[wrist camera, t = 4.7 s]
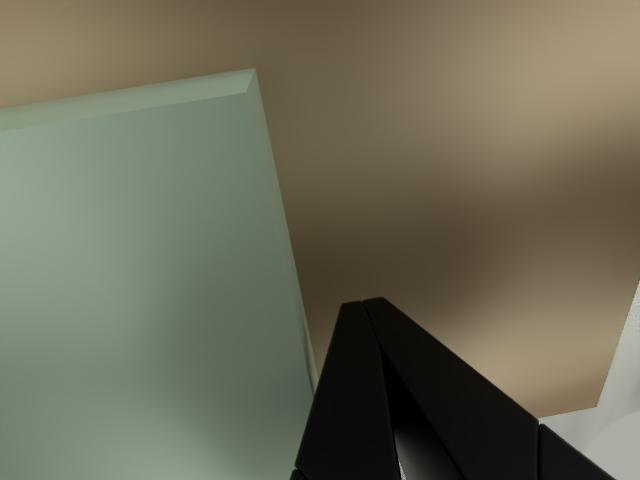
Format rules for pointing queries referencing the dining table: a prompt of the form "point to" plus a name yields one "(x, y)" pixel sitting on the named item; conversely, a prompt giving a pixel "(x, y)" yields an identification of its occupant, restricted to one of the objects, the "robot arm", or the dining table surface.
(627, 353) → the dining table surface
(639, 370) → the dining table surface
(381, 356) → the robot arm
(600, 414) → the dining table surface
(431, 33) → the deck
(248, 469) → the sage green tile
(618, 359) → the dining table surface
